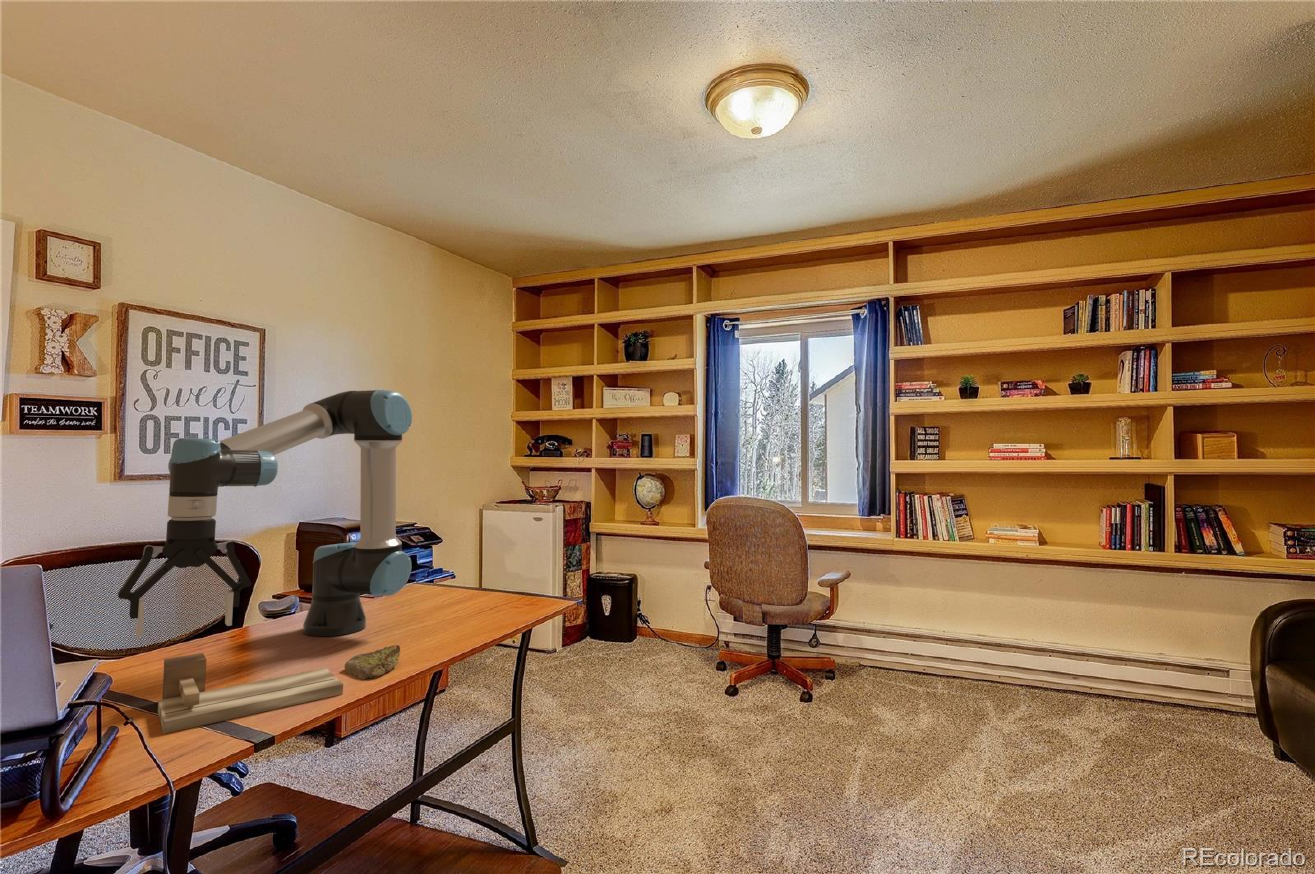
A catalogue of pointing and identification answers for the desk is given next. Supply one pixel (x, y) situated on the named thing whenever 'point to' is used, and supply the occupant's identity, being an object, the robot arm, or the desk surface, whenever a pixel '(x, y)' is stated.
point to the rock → (373, 662)
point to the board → (248, 699)
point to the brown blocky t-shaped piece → (185, 678)
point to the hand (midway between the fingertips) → (185, 630)
